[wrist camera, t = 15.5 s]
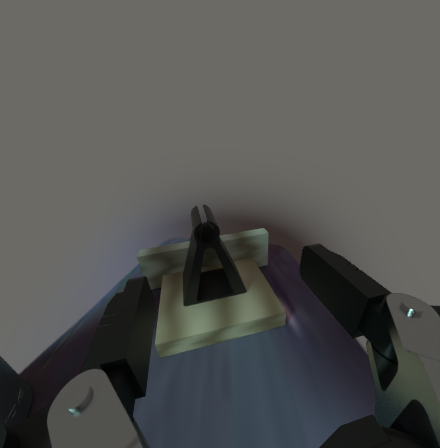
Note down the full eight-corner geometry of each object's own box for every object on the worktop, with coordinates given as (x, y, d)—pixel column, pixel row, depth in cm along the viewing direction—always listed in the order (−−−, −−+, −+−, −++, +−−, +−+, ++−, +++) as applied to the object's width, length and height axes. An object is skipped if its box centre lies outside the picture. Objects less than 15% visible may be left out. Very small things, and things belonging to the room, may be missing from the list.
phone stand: (235, 267, 32) (231, 200, 27) (247, 292, 27) (243, 215, 22) (183, 277, 31) (167, 209, 26) (183, 307, 26) (164, 228, 20)
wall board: (133, 364, 22) (113, 324, 19) (149, 282, 34) (139, 250, 31) (306, 319, 25) (312, 279, 22) (263, 259, 37) (263, 227, 34)
